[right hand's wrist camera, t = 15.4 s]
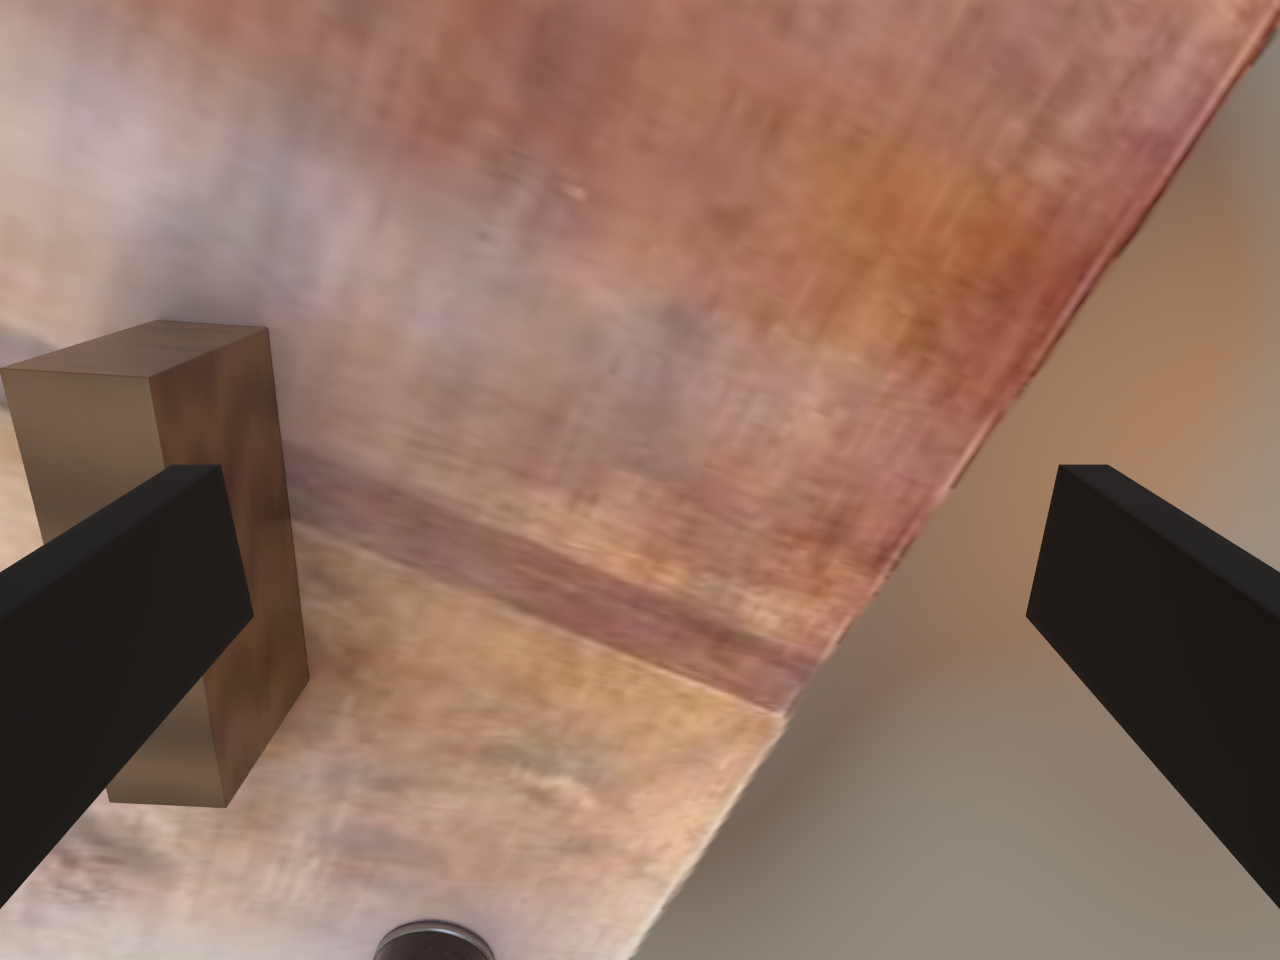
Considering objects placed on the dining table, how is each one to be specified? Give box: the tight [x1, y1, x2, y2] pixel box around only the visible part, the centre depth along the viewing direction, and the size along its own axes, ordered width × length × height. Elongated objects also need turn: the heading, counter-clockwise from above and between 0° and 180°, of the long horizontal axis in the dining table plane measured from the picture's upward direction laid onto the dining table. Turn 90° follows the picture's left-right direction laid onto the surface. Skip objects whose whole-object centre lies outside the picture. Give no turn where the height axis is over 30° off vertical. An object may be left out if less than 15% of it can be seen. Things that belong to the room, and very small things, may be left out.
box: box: [0, 320, 309, 808], centre depth 41 cm, size 23×6×11 cm, turn 176°
